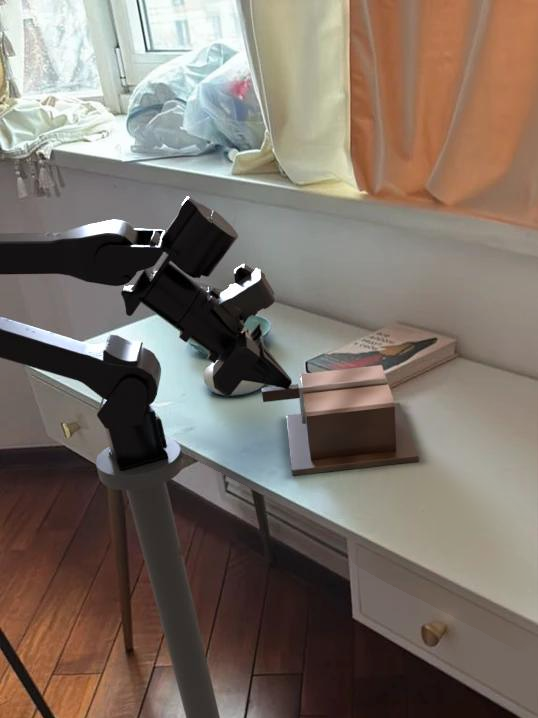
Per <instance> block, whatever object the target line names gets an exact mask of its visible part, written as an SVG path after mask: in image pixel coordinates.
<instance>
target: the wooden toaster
mask: <svg viewBox="0 0 538 718" xmlns="http://www.w3.org/2000/svg"><path fill="white" fill-rule="evenodd" d="M299 377H300V387H303V386H312V385H321V384H330V383H339V382H348V381H357V380H366V379H376V378H385V377H386V381H387V385H380V386H371V387H362V388H353V389H344V390H335V391H326V392H317V393H308V394H303V400H304V409H305V418H306V423H305V424H302V417H301V413H295V414H287V415H286V425H287V434H288V435H287V436H288V446H289V457H290V467H291V475H292V476H302V475H311V474H321V473H328V472H336V471H337V472H338V471H344V470H345V471H346V470H353V469H354V470H355V469H363V468H372V467H373V468H374V467H381V466H390V465H398V464H399V465H400V464H407V463H415V462H416V463H417V462H419V461H420V459H419V457H420V455H419V453H418V450H417V447H416V445H415V443H414V439H413V436H412V434H411V431H410V430H411V429H410V428H409V425H408V422H407V420H406V416H405V414H404V410H403V408H402V404H401V403H400V402H395V400H394V397H393V394H392V393H393V392H392V390H391V388H390V385H389V384H388V383H389V382H388V379H387V376H386V373H385V370H384V367H383V365H382V364H378V365H370V366H361V367H360V366H359V367H352V368H343V369H334V370H326V371H325V370H324V371H316V372H307V373H300V374H299Z"/></svg>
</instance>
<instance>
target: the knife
mask: <svg viewBox="0 0 538 718" xmlns="http://www.w3.org/2000/svg"><path fill="white" fill-rule="evenodd" d="M386 379H387V376H386V377H385V378H376V379H366V380H357V381H348V382H339V383H330V384H321V385H312V386H303V387H301V386H299V384H298V383H296V384H295V383H294V384H291V385H290V386H289V387H288V388H282V387H277V386H267V387H261V397H262V402H263V403H269V402H270V403H271V402H277V401H278V402H279V401H285V400H286V401H288V400H297V399H299V407H300V414H301V417H302V424H305V423H306V418H305V409H304V400H303V394H308V393H317V392H326V391H335V390H344V389H353V388H362V387H371V386H380V385H387V383H388V380H387V381H386Z"/></svg>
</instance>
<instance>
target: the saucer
mask: <svg viewBox="0 0 538 718" xmlns="http://www.w3.org/2000/svg"><path fill="white" fill-rule="evenodd" d="M258 324H261V328H262V336H263V342H264V341H265V340H266V338H267V337H268V335H269V334H270V332H271V329H272V325H273V324H272V321H270V320H269V319H267V318H266V317H264V316H260V315H257V314H256V315H255V316H253V315H252V316H250V317H248V319H247V321H246V322H245V323H244V330H245V331H247V329H249V330H250V331H252V332H253V331H254V329H255V328H256V327H257V325H258ZM186 343H188V344H189V345H190V346H191V347H192V348H194V349H195V350H196V351H198V352H200V353H201V354H203V355H207V356H208V352H207V351H205V350H204V349H203V348H201V347H200V346H199V345H197V344H196V343H195V342H193V341H192V340H191V339H189V340H188V341H187V342H186Z"/></svg>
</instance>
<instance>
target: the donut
mask: <svg viewBox="0 0 538 718" xmlns="http://www.w3.org/2000/svg"><path fill="white" fill-rule="evenodd" d="M217 361H218V360H217ZM217 361H216V362H217ZM216 362H215V363H216ZM214 365H215V364H214V363H213V362H211V364H209V365H208V367H206V369H205V371H204V374H203V381H204V384H205V386H206V387H207V388H208V389H209V390H210V391H211V392H212V393H214V394H217V395H221V396H225V395H224V394H222V393H221V392H219V391H218V390H217V389H215V388H214V383H213V366H214ZM263 386H265V384H262V383H256V382H250V381H243V380H242V381H241V383H240V384H239V385H238V386H237V388H236V389H235V390H234V391H233V393H232V394H231V395H230V396H232V397H233V396H242V395H247V394H250V393H252V392H255V391H258V390H260V389H262V388H263Z"/></svg>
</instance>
